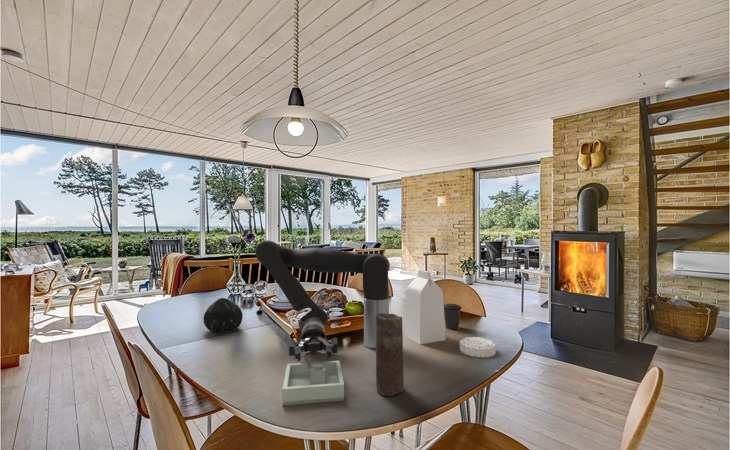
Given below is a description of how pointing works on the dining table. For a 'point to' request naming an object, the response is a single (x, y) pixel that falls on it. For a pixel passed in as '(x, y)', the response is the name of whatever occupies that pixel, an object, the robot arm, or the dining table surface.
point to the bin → (303, 392)
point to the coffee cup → (452, 316)
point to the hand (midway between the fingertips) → (313, 356)
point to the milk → (424, 310)
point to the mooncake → (477, 347)
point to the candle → (389, 354)
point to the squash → (223, 316)
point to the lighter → (314, 371)
